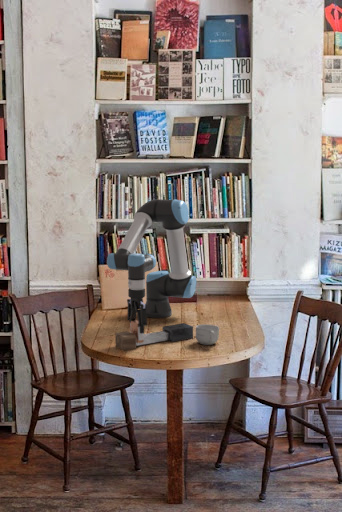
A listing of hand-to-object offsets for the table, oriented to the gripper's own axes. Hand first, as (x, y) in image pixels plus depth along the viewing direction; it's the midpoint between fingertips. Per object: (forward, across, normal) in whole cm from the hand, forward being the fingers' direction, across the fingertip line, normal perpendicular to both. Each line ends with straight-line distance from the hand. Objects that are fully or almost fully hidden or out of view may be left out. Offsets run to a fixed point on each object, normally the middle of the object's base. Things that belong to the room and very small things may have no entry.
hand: (137, 338), depth 336 cm
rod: (+3, 0, +8) cm, 9 cm away
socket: (+3, 0, -6) cm, 7 cm away
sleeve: (+3, 0, +22) cm, 22 cm away
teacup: (+4, +16, +28) cm, 32 cm away
